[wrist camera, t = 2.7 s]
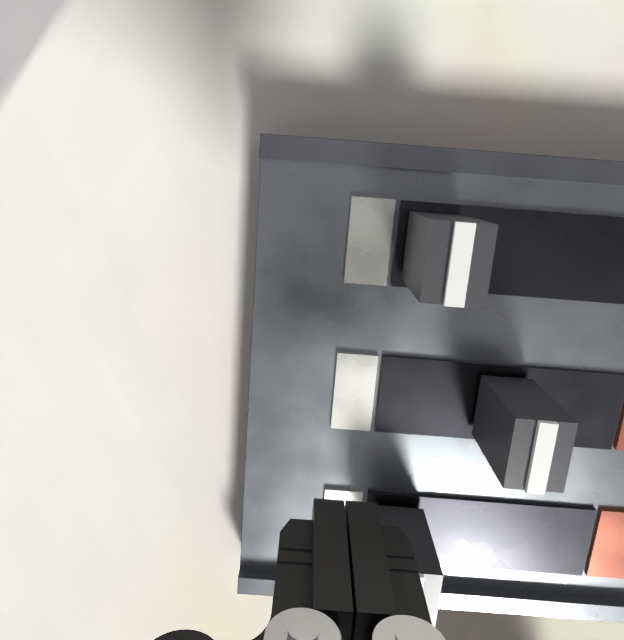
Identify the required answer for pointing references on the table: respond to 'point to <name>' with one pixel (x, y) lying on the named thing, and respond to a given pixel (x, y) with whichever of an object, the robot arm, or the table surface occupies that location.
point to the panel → (438, 364)
